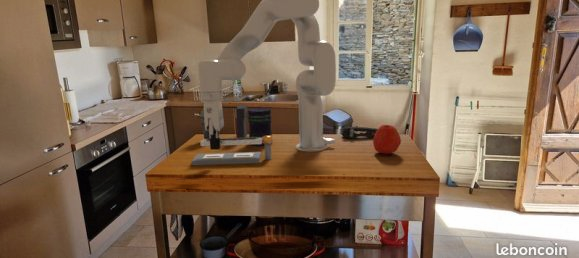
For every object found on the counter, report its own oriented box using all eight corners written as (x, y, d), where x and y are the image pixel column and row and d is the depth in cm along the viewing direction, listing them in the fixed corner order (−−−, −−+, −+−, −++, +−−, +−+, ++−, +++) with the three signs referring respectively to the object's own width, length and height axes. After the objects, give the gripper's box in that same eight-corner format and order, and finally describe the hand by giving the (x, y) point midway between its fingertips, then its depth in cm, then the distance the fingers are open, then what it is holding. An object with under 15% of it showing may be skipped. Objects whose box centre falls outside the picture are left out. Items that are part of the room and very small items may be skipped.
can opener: (343, 140, 170) (343, 128, 169) (340, 137, 177) (340, 125, 176) (383, 139, 170) (384, 126, 169) (380, 135, 177) (380, 123, 176)
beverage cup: (220, 140, 178) (217, 96, 174) (215, 143, 171) (212, 98, 167) (204, 140, 178) (201, 96, 174) (199, 144, 171) (196, 98, 167)
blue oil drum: (271, 146, 163) (270, 110, 160) (248, 147, 163) (246, 111, 160) (273, 141, 173) (271, 107, 170) (250, 141, 173) (249, 108, 170)
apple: (406, 152, 147) (406, 125, 145) (382, 156, 143) (383, 128, 141) (389, 147, 156) (390, 121, 154) (367, 150, 152) (367, 123, 150)
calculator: (239, 136, 183) (237, 105, 180) (248, 136, 183) (246, 104, 180) (236, 142, 172) (234, 108, 169) (245, 142, 172) (244, 108, 169)
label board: (271, 155, 149) (271, 139, 148) (271, 162, 139) (270, 146, 138) (197, 157, 149) (196, 142, 148) (191, 165, 139) (190, 149, 138)
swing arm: (272, 141, 145) (272, 135, 145) (272, 143, 141) (272, 137, 141) (202, 143, 145) (202, 137, 144) (200, 146, 141) (200, 139, 140)
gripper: (218, 99, 126) (222, 154, 129) (226, 93, 140) (229, 143, 144) (195, 99, 126) (199, 154, 130) (205, 94, 141) (209, 144, 144)
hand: (215, 148), depth 137 cm, fingers closed
